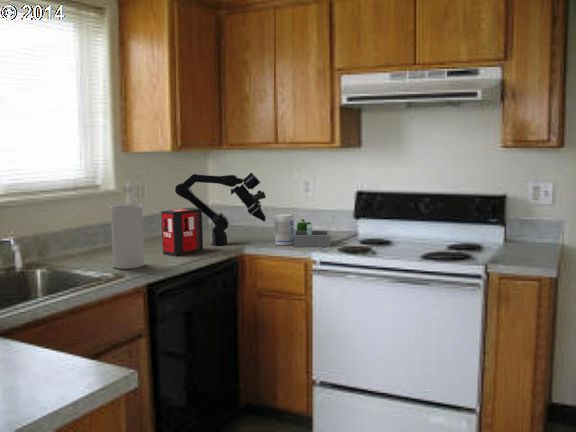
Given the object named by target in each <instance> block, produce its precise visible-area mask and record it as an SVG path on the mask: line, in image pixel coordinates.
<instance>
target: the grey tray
mask: <svg viewBox="0 0 576 432" xmlns="http://www.w3.org/2000/svg"><path fill="white" fill-rule="evenodd" d="M293 247H294V248H313V247H314V248H330V247H331V230H312V235H307V231H297V230H294V244H293Z"/></svg>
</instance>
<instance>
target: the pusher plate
mask: <svg viewBox="0 0 576 432" xmlns="http://www.w3.org/2000/svg"><path fill="white" fill-rule="evenodd" d="M312 231H313V224H312V223H311V224H307V235H312Z"/></svg>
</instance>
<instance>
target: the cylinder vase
mask: <svg viewBox="0 0 576 432" xmlns="http://www.w3.org/2000/svg"><path fill="white" fill-rule="evenodd" d="M143 221H144V220H143V206H142V205H137V204H136V205H135V204H129V205H114V206H110V223H111V225H110V226H111V227H110V228H111V240H112V241H111V242H112V244H111V245H112V259H113V260H112V261H113V267H114V269H119V270H133V269H138V268H141V267H144V266H145V247H144V244H145V243H144V225H143V223H144V222H143Z"/></svg>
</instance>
